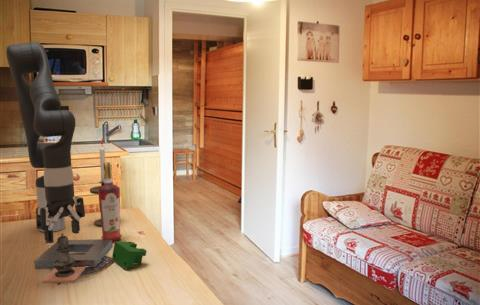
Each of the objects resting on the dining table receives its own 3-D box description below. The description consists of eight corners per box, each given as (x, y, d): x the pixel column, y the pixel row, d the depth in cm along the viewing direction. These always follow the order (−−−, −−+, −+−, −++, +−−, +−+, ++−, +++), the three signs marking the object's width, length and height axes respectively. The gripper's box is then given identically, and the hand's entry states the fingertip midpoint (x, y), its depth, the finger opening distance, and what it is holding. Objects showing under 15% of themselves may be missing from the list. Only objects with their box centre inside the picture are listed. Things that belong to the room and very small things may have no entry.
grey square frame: (59, 246, 145) (59, 239, 145) (112, 246, 145) (112, 239, 145) (34, 268, 127) (34, 260, 127) (95, 267, 127) (94, 260, 127)
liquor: (120, 235, 156) (116, 160, 152) (124, 241, 149) (120, 163, 145) (99, 238, 153) (95, 162, 149) (102, 245, 146) (97, 165, 142)
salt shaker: (79, 272, 123) (77, 232, 121) (59, 279, 118) (56, 238, 117) (69, 267, 127) (67, 228, 125) (50, 273, 122) (47, 233, 120)
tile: (55, 269, 127) (55, 267, 127) (86, 268, 127) (86, 266, 127) (42, 282, 118) (42, 280, 118) (74, 282, 118) (74, 280, 118)
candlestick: (122, 219, 177) (118, 135, 172) (116, 227, 166) (112, 138, 161) (96, 219, 176) (91, 135, 171) (88, 228, 165) (82, 138, 160)
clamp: (139, 278, 130) (150, 255, 127) (121, 279, 126) (131, 255, 124) (127, 253, 139) (137, 230, 136) (110, 253, 135) (119, 230, 132)
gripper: (71, 176, 127) (74, 228, 129) (27, 185, 114) (31, 243, 117) (88, 178, 123) (92, 232, 125) (45, 189, 111) (49, 248, 113)
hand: (63, 237), depth 121 cm, fingers open, 8 cm apart
